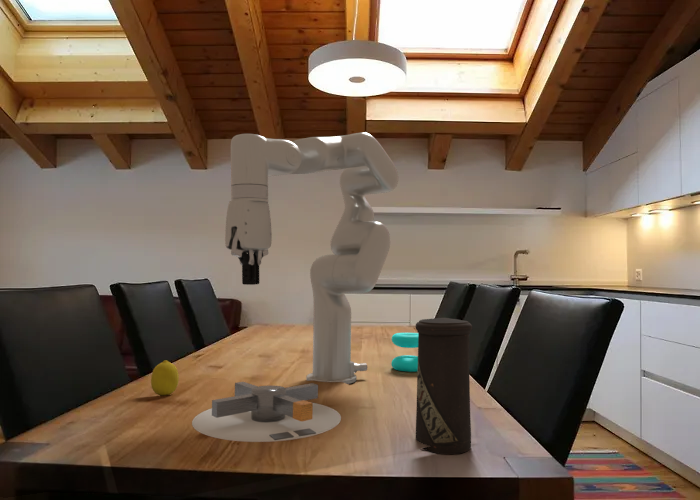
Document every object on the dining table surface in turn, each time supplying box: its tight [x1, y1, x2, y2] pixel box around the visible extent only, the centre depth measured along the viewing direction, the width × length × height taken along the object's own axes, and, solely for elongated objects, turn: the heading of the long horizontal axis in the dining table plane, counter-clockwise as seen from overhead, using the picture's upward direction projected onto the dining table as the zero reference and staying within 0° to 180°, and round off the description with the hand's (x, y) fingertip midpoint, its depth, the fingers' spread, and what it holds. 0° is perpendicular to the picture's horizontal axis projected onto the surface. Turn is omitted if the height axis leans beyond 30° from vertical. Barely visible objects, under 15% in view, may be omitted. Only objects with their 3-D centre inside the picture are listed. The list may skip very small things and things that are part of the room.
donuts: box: [390, 332, 418, 373], centre depth 144 cm, size 10×10×10 cm
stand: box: [191, 401, 342, 443], centre depth 90 cm, size 26×26×1 cm
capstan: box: [211, 381, 319, 422], centre depth 90 cm, size 22×21×5 cm
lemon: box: [150, 359, 180, 397], centre depth 107 cm, size 6×6×8 cm
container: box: [415, 317, 473, 455], centre depth 80 cm, size 9×9×20 cm
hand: (250, 284), depth 104 cm, fingers closed
